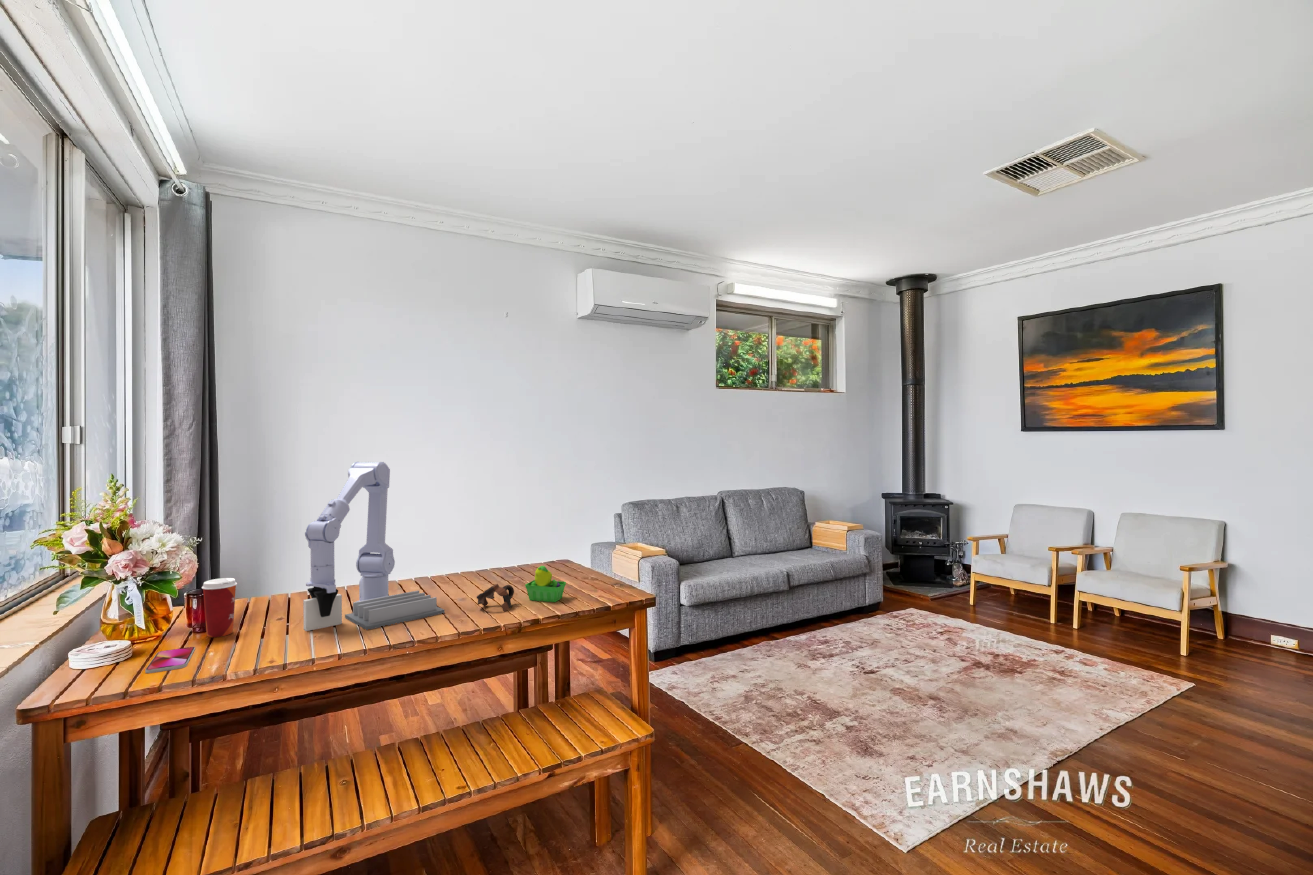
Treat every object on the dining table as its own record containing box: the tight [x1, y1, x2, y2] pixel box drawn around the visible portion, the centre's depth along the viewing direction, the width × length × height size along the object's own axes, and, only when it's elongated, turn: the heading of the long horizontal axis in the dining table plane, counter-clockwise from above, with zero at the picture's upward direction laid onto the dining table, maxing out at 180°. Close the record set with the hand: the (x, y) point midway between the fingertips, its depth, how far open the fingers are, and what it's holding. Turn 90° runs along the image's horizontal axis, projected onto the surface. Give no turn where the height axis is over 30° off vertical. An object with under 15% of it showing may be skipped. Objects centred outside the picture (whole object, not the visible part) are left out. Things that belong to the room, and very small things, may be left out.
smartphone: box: [144, 646, 196, 674], centre depth 144 cm, size 7×1×15 cm
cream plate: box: [302, 593, 343, 632], centre depth 169 cm, size 2×9×8 cm, turn 135°
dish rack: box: [344, 590, 446, 631], centre depth 179 cm, size 16×22×4 cm
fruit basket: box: [524, 565, 567, 603], centre depth 195 cm, size 11×9×11 cm
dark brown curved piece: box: [476, 583, 515, 612], centre depth 187 cm, size 12×10×8 cm
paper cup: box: [201, 577, 238, 638], centre depth 163 cm, size 8×8×14 cm
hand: (322, 614), depth 169 cm, fingers open, 3 cm apart
